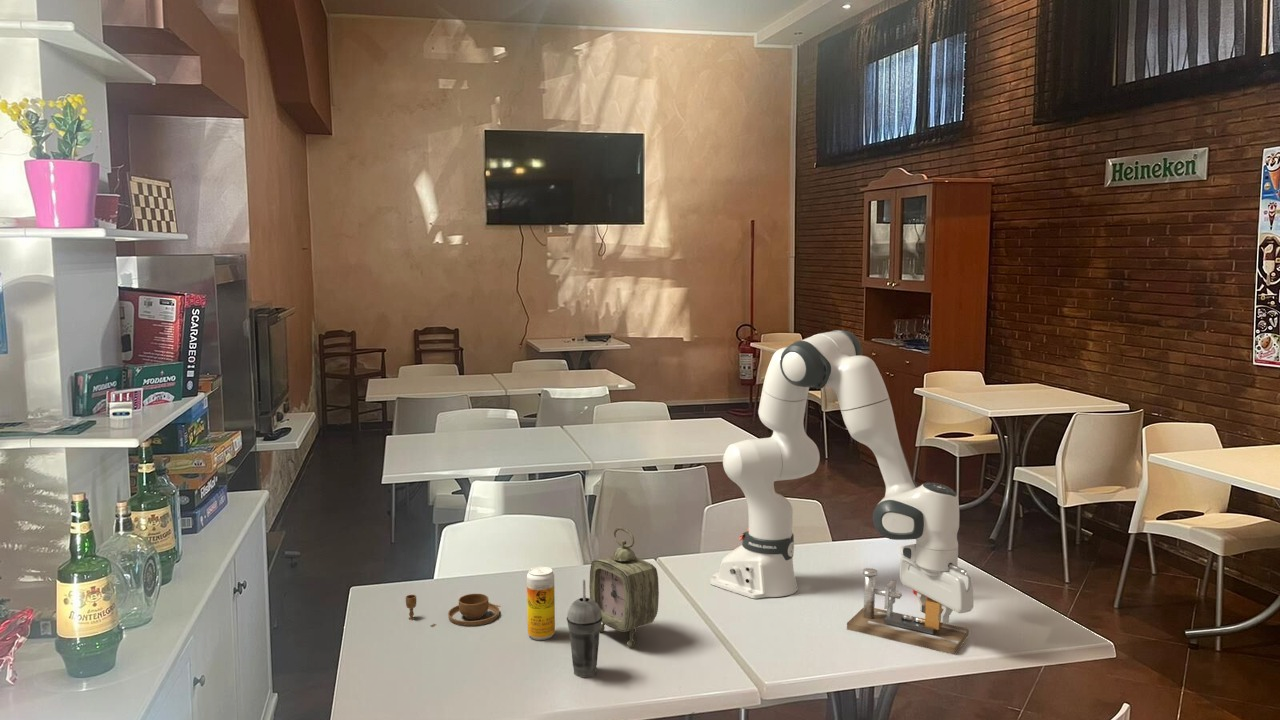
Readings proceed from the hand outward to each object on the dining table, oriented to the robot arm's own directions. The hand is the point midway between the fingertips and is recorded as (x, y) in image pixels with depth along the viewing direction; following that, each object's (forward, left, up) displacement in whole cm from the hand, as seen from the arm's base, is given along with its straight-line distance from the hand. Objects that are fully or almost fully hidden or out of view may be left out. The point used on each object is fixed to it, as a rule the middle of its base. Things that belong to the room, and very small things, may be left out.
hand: (934, 617), depth 200 cm
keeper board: (-6, 0, -5) cm, 8 cm away
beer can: (-74, -47, -5) cm, 88 cm away
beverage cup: (-55, -56, -5) cm, 79 cm away
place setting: (-98, -48, -6) cm, 109 cm away
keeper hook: (-12, 0, -3) cm, 12 cm away
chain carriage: (-4, 0, -3) cm, 5 cm away
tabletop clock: (-58, -37, -5) cm, 69 cm away
